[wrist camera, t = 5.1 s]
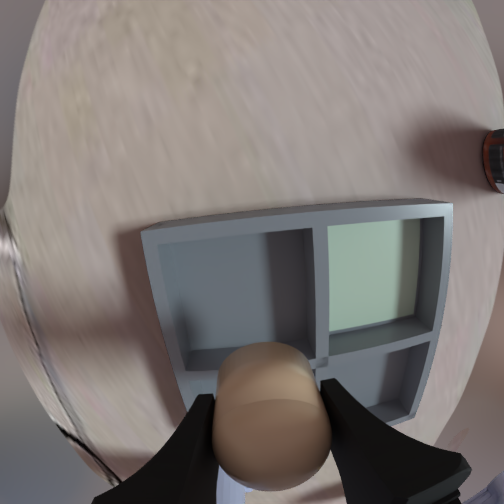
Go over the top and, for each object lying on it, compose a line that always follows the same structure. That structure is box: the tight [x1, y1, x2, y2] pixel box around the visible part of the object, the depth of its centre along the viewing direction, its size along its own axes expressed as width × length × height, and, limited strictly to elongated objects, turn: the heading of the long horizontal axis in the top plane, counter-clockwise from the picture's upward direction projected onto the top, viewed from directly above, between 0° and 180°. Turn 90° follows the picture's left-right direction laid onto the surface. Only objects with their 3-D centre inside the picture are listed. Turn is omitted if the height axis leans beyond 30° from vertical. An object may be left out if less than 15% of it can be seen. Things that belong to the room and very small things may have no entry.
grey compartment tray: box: [141, 198, 453, 426], centre depth 18 cm, size 18×18×4 cm
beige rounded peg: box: [212, 342, 332, 491], centre depth 9 cm, size 4×4×6 cm
